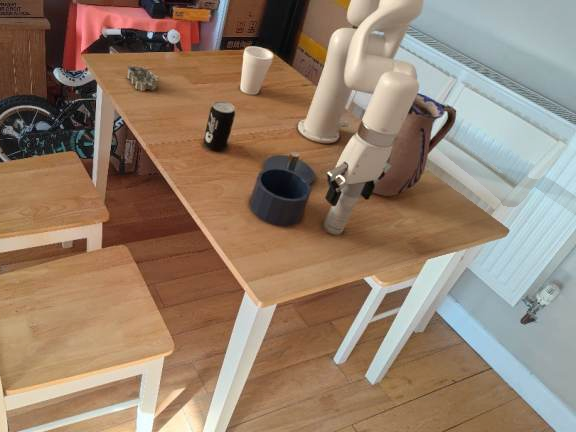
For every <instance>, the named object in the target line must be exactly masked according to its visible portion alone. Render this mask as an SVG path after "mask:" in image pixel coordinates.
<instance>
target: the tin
mask: <svg viewBox="0 0 576 432" xmlns="http://www.w3.org/2000/svg"><path fill="white" fill-rule="evenodd" d="M311 192H312V188H311V184H310V185H309V183H308V182H307V181H306V180H305V179H304V178H303V177H302V176H300V175H299V174H297V173H295V172H293V171H290V170H287V169H284V168H276V167H273V168H267V169H264V168H263V170H261V171H259V173H258V175H257V177H256V181H255V183H254V187H253V189H252V194H251V197H250V200H249V206H250V209H251V211H252V213H253V214H254V215H256V217H257V218H259V219H260V220H262V221H264V222H265V223H267V224H271V225H274V226H278V227H288V226H289V227H290V226H293V225H295V224H297V223H298V222H299V221H300V220H301V218H302V216H303V213H304V212H305V209H306V206H307V203H308V201H309V199H310V196H311V194H312V193H311Z"/></svg>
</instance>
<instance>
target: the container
mask: <svg viewBox="0 0 576 432" xmlns="http://www.w3.org/2000/svg"><path fill="white" fill-rule="evenodd" d="M344 178H345V177H344ZM345 179H346V178H345ZM365 183H366V182H361V183H355V184H347V185H346V186H345V187H344V188H343V189H342V190H340V191H341V192H342V193H341V196H340V198H339V200H338V202H337V205H336V206H332V205H330V208H329V211H328V213H327V215H326V217H325V220H324V222H323V225H322V226H323V229H324V230H325V231H326V232H327V233H328V234H331V235H336V236H338V235H341V234H342V233H343V231H344V230H345V227H346V225H347V223H348V222H349V219H350V217H351V216H352V213H353V211H354V209H355V206H356V205H357V203H358V201H359V198H360V196H361V195H360V194H361V192H362V189H363V187H364V185H365Z"/></svg>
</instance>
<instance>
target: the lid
mask: <svg viewBox="0 0 576 432" xmlns="http://www.w3.org/2000/svg"><path fill="white" fill-rule="evenodd" d="M299 158H300V153H299V152H297V151H290V153H289V155H285V154H277V155H271V156H270V157H268V158H266V159H265V161H264V163H263V170H264V169H267V168H273V167H276V168H284V169H287V170H290V171H293V172H295V173H297V174H299V175H300V176H302V177H303V178H304V179H305V180H306V181H307V182H308V183H309V185H310V186H311V184H312V183H313V182H314V180H315V176H316V175H315V172H314V170H313V169H312V167H310V165H309V164H308V163H306V162H304V161H303V160H301V159H299Z"/></svg>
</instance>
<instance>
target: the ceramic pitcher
mask: <svg viewBox="0 0 576 432" xmlns="http://www.w3.org/2000/svg"><path fill="white" fill-rule="evenodd" d="M445 112H446V114H447V118H446V119H445V120H446V121H445V123H444V124H443V125H442V126H441V128H439V130H438V131H437V132H436V133H435V134H434V136H432V131H433V125H434V122H435V121H436V120H437V119H440V118H442V117H443V116H444V115H445ZM456 119H457V110H456V109H455V108H454V107H453V106H451V105H449V104H443V103H440V102H438V101H437V100H435V99H433V98H431V97H429V96H428V95H425V94H422V93H419V92H418V93H417V95H416V98H415V100H414V102H413V104H412V106H411V108H410V110H409V112H408V114H407V116H406V118H405V120H404V122H403V124H402V126H401V128H400V130H399V132H398V135H397V137H396V139H395V141H394V143H393V147H392V150H391V153H390V156H389V158H388V161H387V163H389V164H390V165H391V167H390V169H389V170H388V171H387V172H386V173H385V176H384V177H382V178H381V179H380V180H379V183H378V184H377V185H375V188H374V190H373V192H372V194H376V195H379V196H382V197H383V196H384V197H388V196H397V195H400V194H402V193H404V192H407V191H408V190H409V189H411V188H413V187H414V186H415V185H416V184H417V183H418V182H419V180H420V179H421V177H422V176H423V174H424V171H425V169H426V165H427V162H428V157H429V154H430V153H431V152H432V151H433V150H434V148H435V147H436V146H437V145H438V144H440V142H442V141H443V139H444V138H445V137H446V136H447V134H448V133H449V132H450V131H451V129H452V128H453V126H454V125H455V123H456Z"/></svg>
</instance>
